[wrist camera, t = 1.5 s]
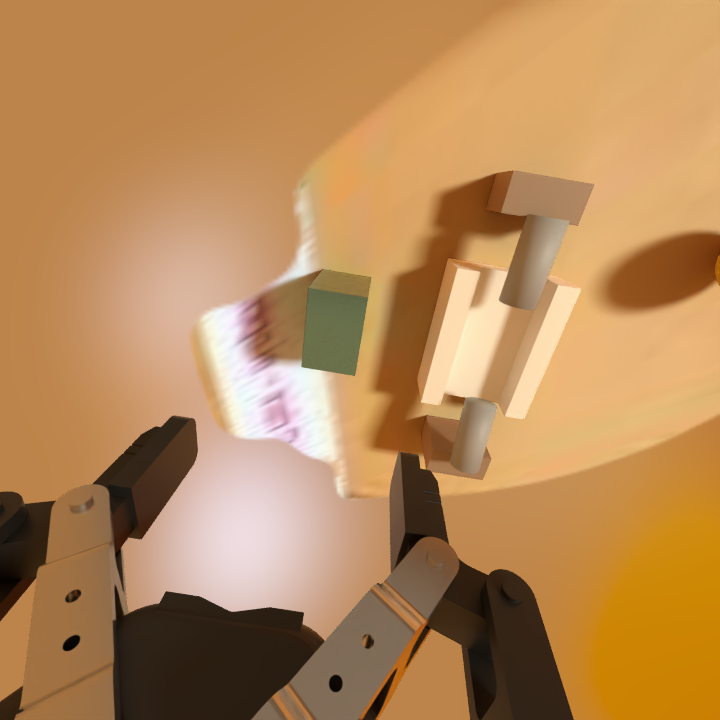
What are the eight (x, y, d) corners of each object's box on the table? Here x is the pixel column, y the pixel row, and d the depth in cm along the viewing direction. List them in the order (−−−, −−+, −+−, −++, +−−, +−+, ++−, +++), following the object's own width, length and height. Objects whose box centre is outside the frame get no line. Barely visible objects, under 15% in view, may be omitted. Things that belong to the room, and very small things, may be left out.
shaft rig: (471, 168, 25) (501, 161, 18) (590, 189, 25) (664, 189, 18) (403, 431, 35) (407, 487, 28) (487, 445, 35) (511, 504, 29)
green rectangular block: (322, 269, 29) (308, 287, 23) (371, 277, 29) (367, 297, 23) (315, 336, 31) (301, 367, 26) (360, 343, 31) (354, 375, 26)
